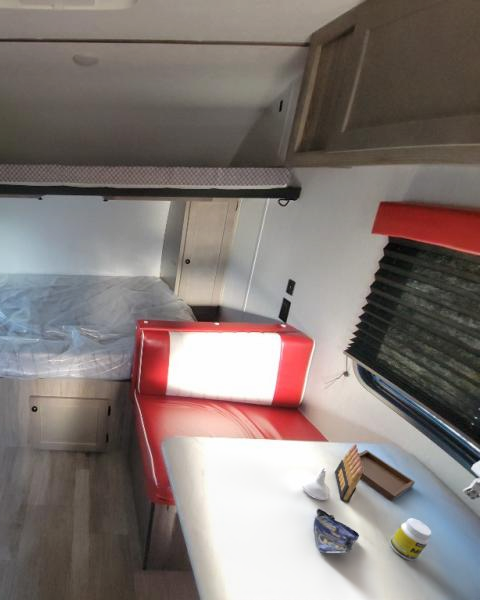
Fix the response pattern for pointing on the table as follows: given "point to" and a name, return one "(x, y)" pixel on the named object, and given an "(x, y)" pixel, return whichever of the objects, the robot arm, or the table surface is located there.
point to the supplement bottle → (410, 539)
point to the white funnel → (316, 486)
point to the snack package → (332, 534)
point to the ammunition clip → (349, 474)
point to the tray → (383, 476)
